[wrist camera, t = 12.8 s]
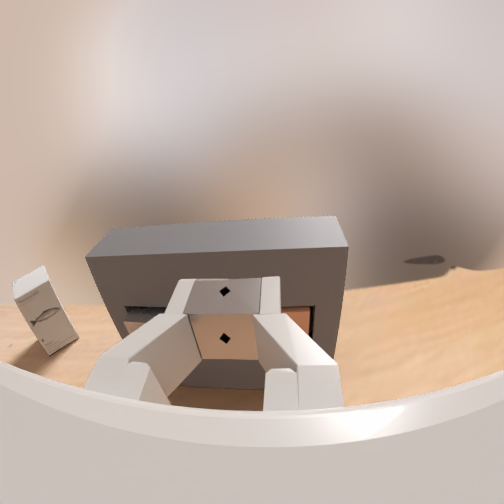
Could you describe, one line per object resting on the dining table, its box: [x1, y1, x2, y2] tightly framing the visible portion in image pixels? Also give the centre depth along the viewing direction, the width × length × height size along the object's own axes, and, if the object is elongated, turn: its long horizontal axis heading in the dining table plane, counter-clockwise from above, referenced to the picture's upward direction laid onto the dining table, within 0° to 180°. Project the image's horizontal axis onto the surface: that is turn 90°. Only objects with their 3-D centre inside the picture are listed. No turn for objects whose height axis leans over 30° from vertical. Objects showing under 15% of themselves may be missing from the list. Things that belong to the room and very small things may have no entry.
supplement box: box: [12, 265, 79, 356], centre depth 39 cm, size 7×7×13 cm
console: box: [85, 216, 348, 389], centre depth 31 cm, size 6×24×20 cm, turn 86°
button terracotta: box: [281, 306, 310, 335], centre depth 28 cm, size 3×5×5 cm, turn 86°
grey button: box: [123, 306, 167, 334], centre depth 28 cm, size 3×5×5 cm, turn 86°
